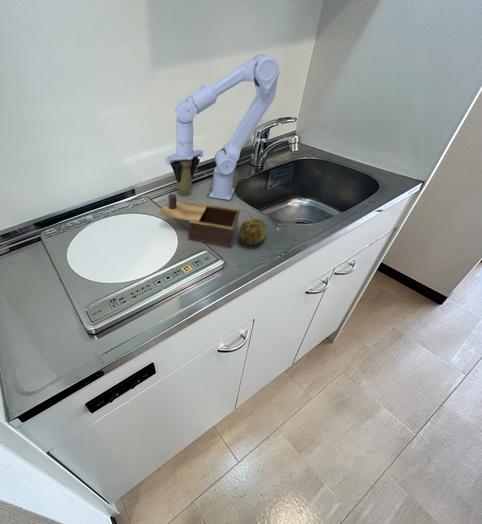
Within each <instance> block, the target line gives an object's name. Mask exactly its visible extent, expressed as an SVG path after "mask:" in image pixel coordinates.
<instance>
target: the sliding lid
mask: <svg viewBox="0 0 482 524" xmlns="http://www.w3.org/2000/svg"><path fill="white" fill-rule="evenodd" d="M167 197H168V201H167V202H166V204H165V205H164V206H163V207H162V208H161V210H159V212H158V216H161V217H166V218H172V219H178V220H185V221H189V222H190V220H192V221H198V222H199V221H200V219H201V217H202V216H203V214H204V212H205V210H206V208H207V205H208V204H207V205H200V204H201V203H193V202H186V201H181V200H180V201H179V200H177V194H175V193H170V194H168V196H167Z"/></svg>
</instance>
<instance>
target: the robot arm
mask: <svg viewBox="0 0 482 524" xmlns="http://www.w3.org/2000/svg"><path fill="white" fill-rule="evenodd" d="M280 72H281V71H280V67H279V63H278V60H277V59H276V58H275V57H273V56H270V55H266V54H264V53H259V54H256V55H255V56H254V57H252V58H250V59H248V60H246V61H244V62H243V63H242V64H240V65H238V66H237V67H236V68H234V69H233V70H231V71H230V72H229V73H228V74H227V75H225V76H224V77H222V78H221V79H219V80H218V81H217V82H216V83H214V84H208V83H207V84H205V85H204V84H200V85H199V86H198V88H199V89H197V90H196V91H195V92H193V93H191V94H190V95H189V94H187V95H185V99H181V100H179V101H178V102H177V104H176V105H175V115H176V122H175V124H176V126H175V140H176V141H175V142H176V143H175V148H176V149H175V150H176V152H175V153H173V154H171V155H169V156H165V158H164V160H165V161H164V162H165V164H166V165H170V166H171V169H172V171H173V173H174V178H175V181H176V182H177V181H178V182H180V181H181V169H182V166H183V165H181V164H180V162H179V161H180V160H185V159H187V160H192V165H191V167H190V169H191V179H192V180H193V179H194V175H195V172H196V169H197V167H198V166H199V164H200V163H201V161H200V160H201V159H200V158H203V157H204V150H202V149H196V150H195V149H194V124H193V123H194V119H195V115H199V114H200V113H202V112H203V111H205V110H206V109H208V108H210V107H211V106H212V105H214V104H215V103H216V102H217V99H218V96H220V95H221V94H222V95H223V93H225V92H227V91H229V90H230V89H232V88H234V87H235V86H237V85H239V84H240V83H243V82H253V83H254V87H255V92H256V95H255V97H254V99H253V100H252V102H251V104H250V105H249V107H248V109H247V110H246V111H245V113H244V115H243V116H242V119H241V120H240V122H239V123H238V125H237V126H236V128H235V130H234V132H233V133H232V135H231V137H230V138H229V140H228V141H227V142H226V143H225V144H223V146H222V147H221V148H220V149H219V150H218V151H216V153H215V155H214V162H215V164H216V166H215V167H214V169H213V180H212V189H211V191H210V193H209V195H208V197H209V198H212V199H213V198H214V199H219V200H226V201H230V200H231V199H232V196H233V194H234V192H235V188H234V187H233V184H234V178H235V177H234V175H235V170H236V167H237V162H238V161H239V159H240V156H241V151H242V149H243V147H245V145H246V143H247V142H248V140H249V139H250V137H251V136H252V134H253V133H254V131H255V129H256V127H257V126H258V124H259V123H260V121H262V119H263V117H264V115H265V114H266V112H267V110H268V109H269V107H270V106H271V105H272V103H273V101H274V100H275V98H276V94H277V93H276V92H277V87H278V81H279V78H280V75H281V73H280ZM199 157H200V158H199Z"/></svg>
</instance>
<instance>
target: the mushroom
mask: <svg viewBox="0 0 482 524" xmlns="http://www.w3.org/2000/svg"><path fill="white" fill-rule="evenodd" d="M179 162H180V164H181V165H183V166H182V169H181V181H180V182H178V181H176V185H175V186H176V189H177V190H180V191H190V190H191V189H193V179H191V169H190V167H191V165H192V160H187V159H185V160H180V161H179Z"/></svg>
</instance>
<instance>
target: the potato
mask: <svg viewBox="0 0 482 524" xmlns="http://www.w3.org/2000/svg"><path fill="white" fill-rule="evenodd" d="M267 235H268V229H267V226H266V224H265V222H264V221H263V220H261V219H259V218H252V219H246V220H245V221H243V222H242V223H241V225H240V227H239V237H240V241H241V243H242V244H246V245H249V246H253V245H254V246H255V245H257V244H261V243H263V242H264V241H265V240H266V239H267Z"/></svg>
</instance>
